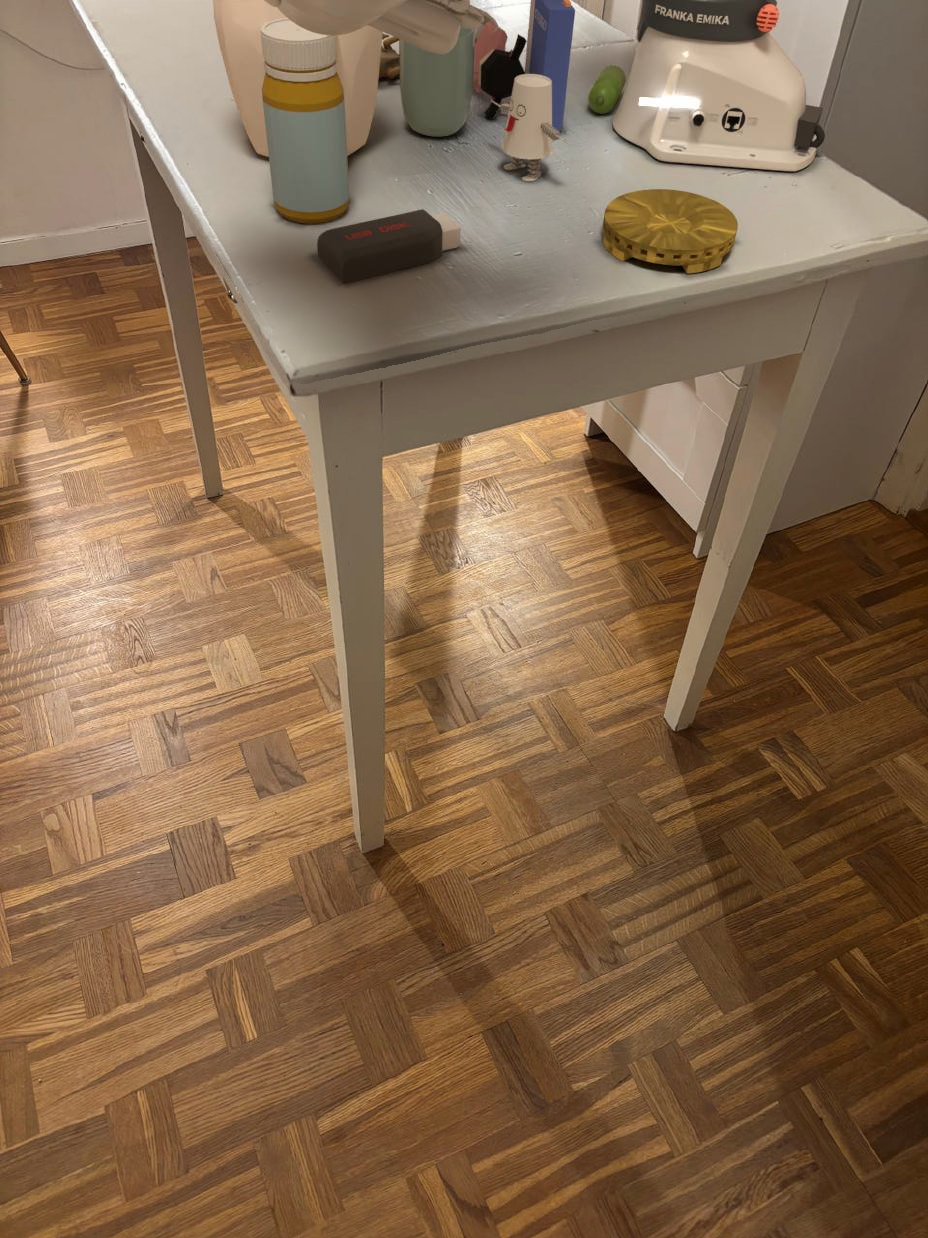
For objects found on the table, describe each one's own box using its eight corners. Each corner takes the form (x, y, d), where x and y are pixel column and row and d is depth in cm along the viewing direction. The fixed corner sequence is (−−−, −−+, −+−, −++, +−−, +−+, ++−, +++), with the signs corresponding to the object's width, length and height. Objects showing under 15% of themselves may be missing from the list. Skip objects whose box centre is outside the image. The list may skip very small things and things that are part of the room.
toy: (464, -14, 109) (493, 18, 98) (515, 20, 112) (548, 55, 102) (429, 59, 113) (453, 97, 103) (479, 90, 117) (507, 130, 106)
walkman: (562, 130, 104) (576, 5, 95) (537, 131, 104) (549, 5, 95) (545, 104, 109) (556, -18, 100) (521, 104, 109) (531, -18, 100)
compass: (618, 203, 92) (621, 180, 91) (741, 224, 90) (746, 201, 88) (587, 258, 85) (590, 235, 83) (720, 283, 82) (726, 260, 81)
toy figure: (467, 156, 99) (470, 66, 93) (509, 145, 101) (515, 57, 95) (539, 200, 92) (548, 106, 86) (582, 187, 95) (594, 95, 89)
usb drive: (317, 256, 83) (315, 226, 81) (436, 229, 87) (437, 199, 85) (343, 283, 80) (341, 252, 78) (465, 253, 84) (466, 223, 82)
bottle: (312, 186, 93) (299, 10, 81) (364, 208, 90) (358, 29, 79) (259, 209, 89) (237, 27, 78) (312, 233, 86) (296, 48, 75)
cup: (463, 147, 100) (467, 42, 93) (392, 139, 101) (390, 33, 94) (477, 121, 106) (482, 18, 98) (409, 112, 106) (409, 10, 99)
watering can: (260, 214, 88) (232, -24, 74) (214, 109, 105) (184, -102, 91) (420, 197, 92) (421, -33, 78) (351, 98, 109) (342, -106, 95)
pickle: (599, 88, 114) (603, 59, 112) (625, 92, 114) (629, 62, 111) (582, 117, 108) (586, 86, 105) (610, 121, 107) (615, 90, 105)
